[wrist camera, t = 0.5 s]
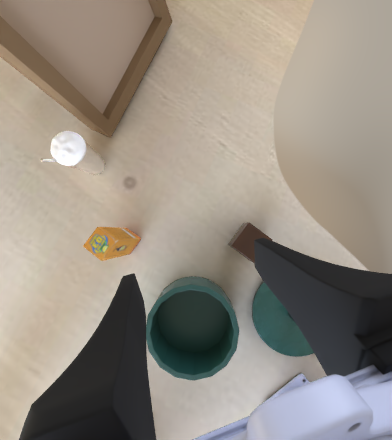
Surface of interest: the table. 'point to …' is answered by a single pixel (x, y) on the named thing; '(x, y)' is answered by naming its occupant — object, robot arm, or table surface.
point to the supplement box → (111, 242)
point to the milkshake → (75, 153)
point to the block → (247, 240)
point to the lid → (277, 325)
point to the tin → (192, 329)
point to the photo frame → (84, 51)
